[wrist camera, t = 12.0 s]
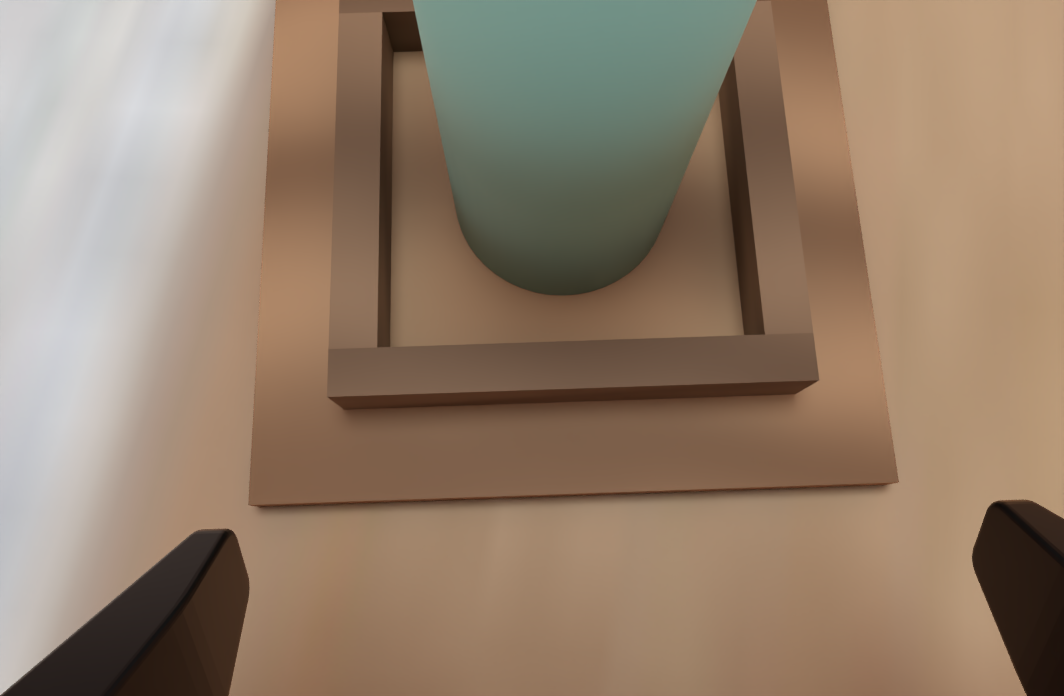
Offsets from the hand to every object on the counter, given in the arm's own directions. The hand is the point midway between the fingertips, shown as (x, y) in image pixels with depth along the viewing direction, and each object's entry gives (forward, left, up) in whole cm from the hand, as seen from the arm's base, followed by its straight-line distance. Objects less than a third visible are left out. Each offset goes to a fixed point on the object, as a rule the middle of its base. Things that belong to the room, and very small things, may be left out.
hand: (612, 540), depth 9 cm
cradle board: (+3, -7, -8) cm, 11 cm away
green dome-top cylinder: (+3, -7, -7) cm, 11 cm away
